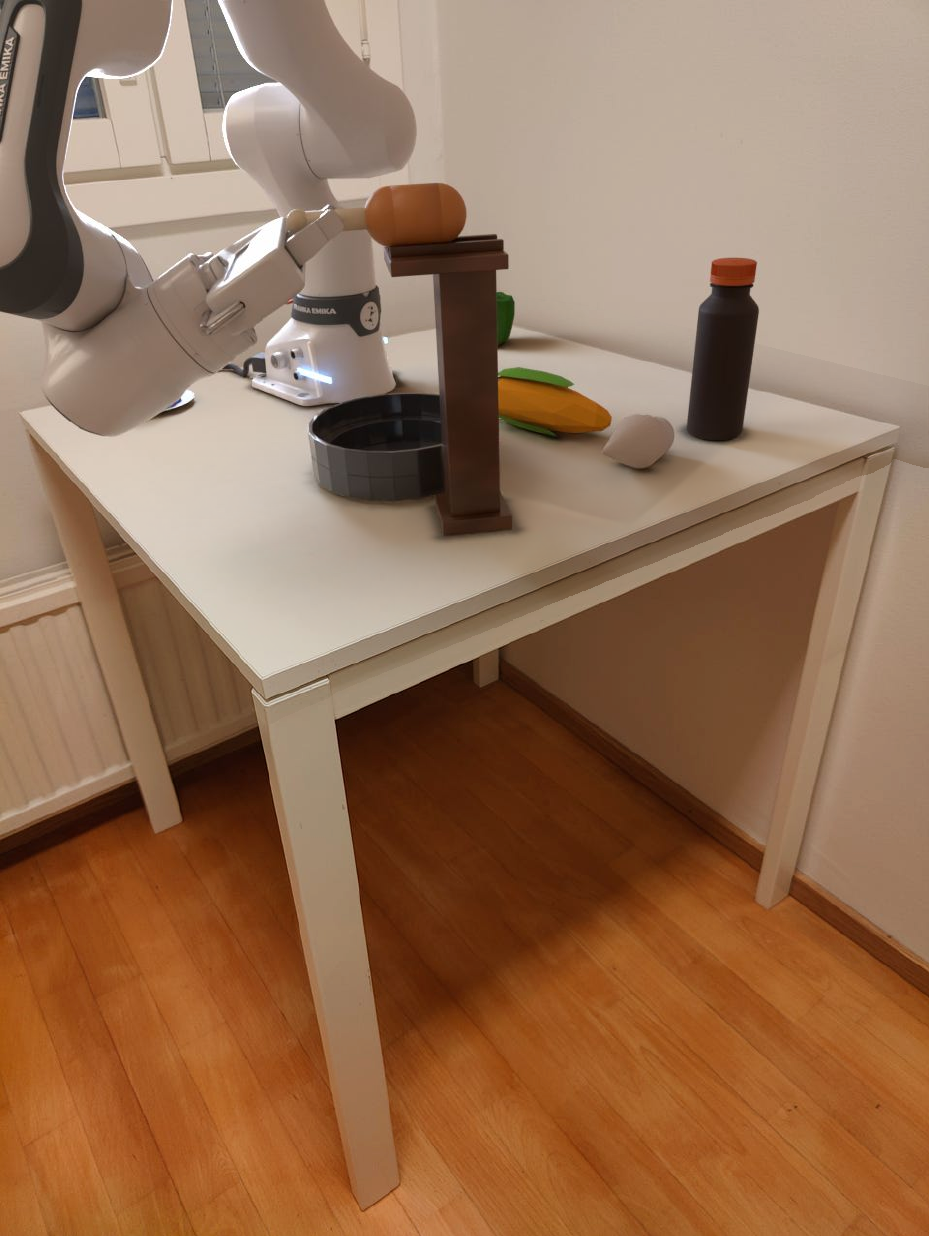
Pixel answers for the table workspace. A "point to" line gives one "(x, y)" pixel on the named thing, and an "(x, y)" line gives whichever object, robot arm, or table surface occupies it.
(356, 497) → the bowl
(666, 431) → the ice cream cone
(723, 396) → the bottle
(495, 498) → the stand
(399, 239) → the drumstick
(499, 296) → the bell pepper
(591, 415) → the corn
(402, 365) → the table surface
